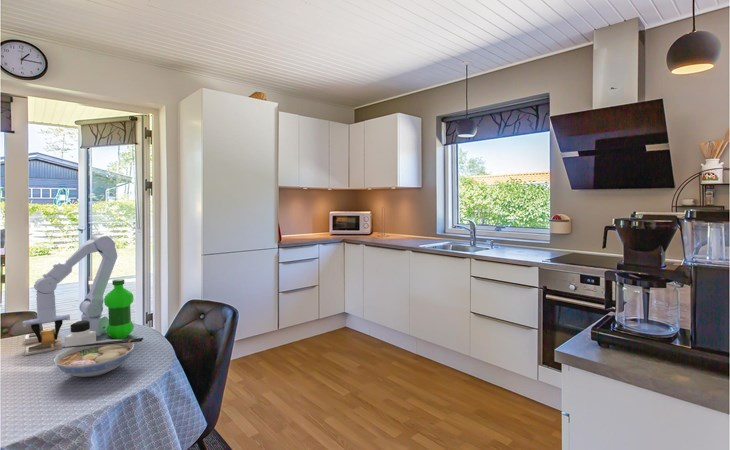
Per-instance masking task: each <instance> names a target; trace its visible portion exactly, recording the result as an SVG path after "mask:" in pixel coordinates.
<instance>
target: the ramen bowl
mask: <svg viewBox="0 0 730 450" xmlns="http://www.w3.org/2000/svg"><path fill="white" fill-rule="evenodd" d="M143 340H144V337H139V338H138V337H136V338H131V339H128V338H127V339H105V340H98V341H97V340H96V342H92V343H87V344H83V345H77V346H68V347H65V346H62V349H64V351H62V352H60V353H58V354H56V355H55V357H54V358H53V362H54V364H55V365H56V366H57V368H58V369H59V370H60V371H61V372H63V373H64V374H66V375H69V376H74V377H80V378H81V377H82V378H84V377H85V378H95V377H100V376H102V375H105V374H107V373H108V372H111V371H113V370H115V369H116V368H118V367H119V366H121V365H122V364H123V363H125V362H126V361H127V359H128V358H129V357H130V356H131V354H132V352H133V350H134V348H135V343H141V342H143ZM71 347H73V348H71ZM65 348H71V349H68V350H65Z"/></svg>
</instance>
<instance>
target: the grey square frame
mask: <svg viewBox="0 0 730 450" xmlns="http://www.w3.org/2000/svg"><path fill="white" fill-rule="evenodd" d="M48 345H51V348H48V349H43V350H38V351H33V352H29V349H32V348H38V347H43V346H48ZM52 350H54V347H53V342H51V343H45V344H40V345H34V346H29V347H26V352H25V356H24V357H27V356H26V355H29V356H32V355H31V354H34V355H38V354H37V353H39V354H43V353H42V352H44V353H48V352H47V351H49V352H53V351H52Z"/></svg>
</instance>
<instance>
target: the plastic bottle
mask: <svg viewBox="0 0 730 450" xmlns="http://www.w3.org/2000/svg"><path fill="white" fill-rule="evenodd" d="M111 284H112V286H113V288H112V290H111V291H109V292H108V293H107V294H106V295H105V296H104V297H103V299H104V301H103V304H104V305H105V306H106V307H107V311H108V312H107V313H108V319H109V325H108V327H107V329H106V331H107V332H106V334H107V335H108V336H109V337H110V338H112V340H124V339H125V338H128V337H129V335H130V334H131V333H133V331H134V324H133V322H132V316H131V312H132V311H131V305H132V304H133V303H134V294H133V292H131V291H130V290H128V289H126V288H124V285H125V279H124V278H118V279H113V280H112V283H111Z"/></svg>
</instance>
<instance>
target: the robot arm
mask: <svg viewBox="0 0 730 450" xmlns="http://www.w3.org/2000/svg"><path fill="white" fill-rule="evenodd" d="M97 252H98V253H99V255H100V256H101V258H102V259H101V260H100V263H99V266H98V269H97V271H96V274H95V277H94V279H93V282H92V285H91V288H90V290H89V292H88V293H87V294H86V296H85V297H84V299H83V300H82V301H81V302H80V304H79V308H78V309H79V311H80V312H81V313H82V314H81V316H80V317H81V318H80V319H81V320H87V321H89V322H90V331H96V337H97V336H98V337H99V336H101V335H104V334H107V331H106V329H107V327H108V325H109V317H108V316H105V315H103V314H102V312H104V311H103V310H104V306H103V305H104V293H105V291H106V288H107V285H108V282H109V280H110V277H111V274H112V272H113V270H114V267H115V264H116V262H117V259H118V251H117V248H116V242H115V241H114V239H113V238H111V237H110V236H107V235H102V234H95V235H93V236H91V238H90V239H87V240H86V241H85V242H84V243H83V244H82V245H81V246H80V247H79V248H78V249H77V250H76V251H75V252H74V253H73V254H72V255H70V257H68V259H67V260H66V261H64V262H58V263H57V264H56V263H55V264H53V265H52V268H51V269H50V270H49V271H48V272H47V273H43V275H42V277H40V278H38V279H37V280H36V281H35V282H34V284H33V287H34V289H35V290H36V295H35V296H36V313H37V314H36V315H37V316H36V317H37V318H34V319H28V320H23V321H22V328H26V327H29V326H30V327H31V328H30V329H31V330H32V331H33V332H34V333H35V334H36V336H37V338H38V341H39V343H41V336H40V332H41V329H40V328H41V327H40V325H43V324H51V323H54V329H55V340H57V337H58V333H60V330H61V328H62V326H63V322H64V321H70V320H71V315H70V314H61V315H57V312H56V309H57V308H56V307H57V306H56V295H55V290H56V289H57V286H58V284H60V283H61V282H62V281H63V280H64V279H66V278H67V277H68V276H69V275H70V274H72V273H73V267H74V266H76V264H78V263H79V262H80V261H82V260H83V259H84V258H85V257H86V256H87V255H89V254H92V253H97Z"/></svg>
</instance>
